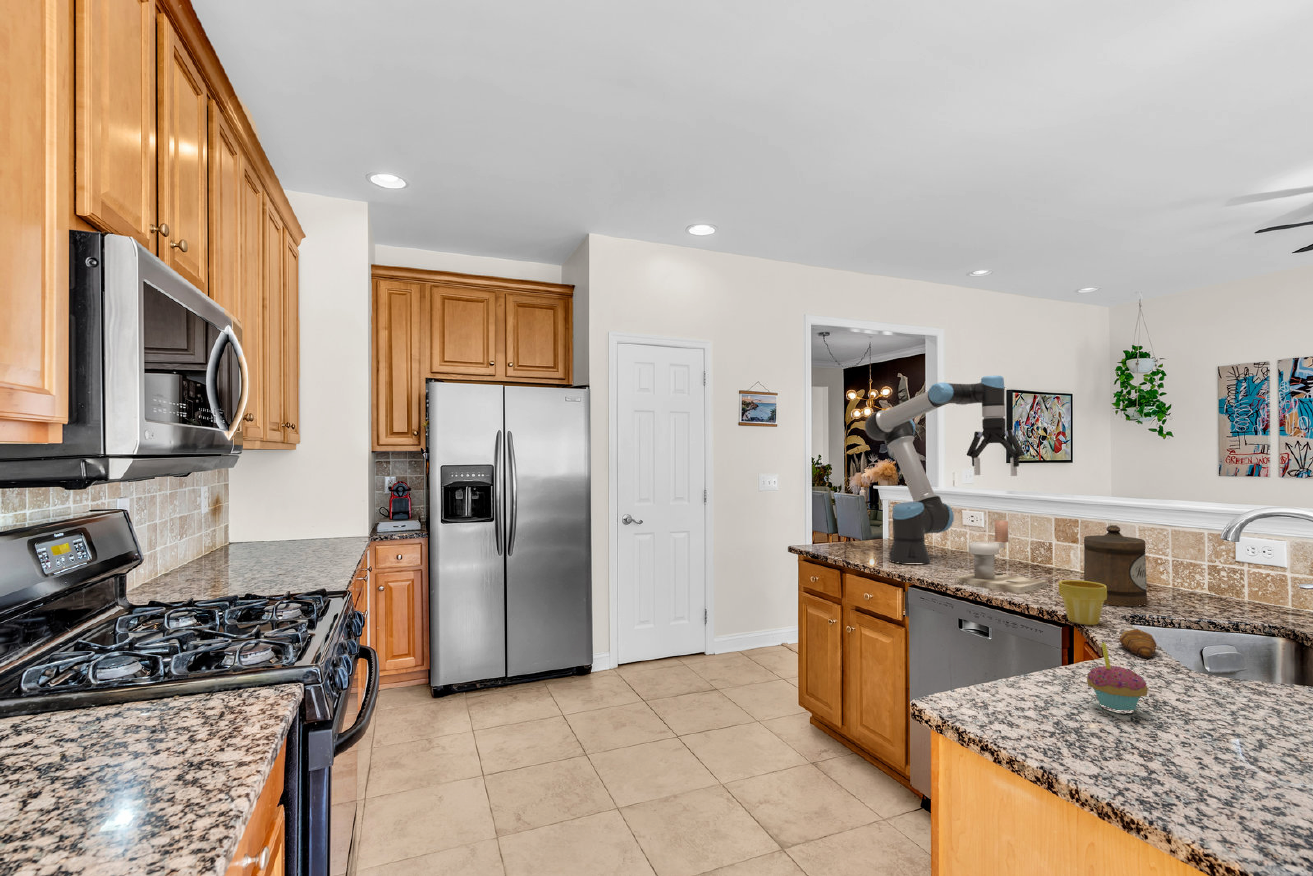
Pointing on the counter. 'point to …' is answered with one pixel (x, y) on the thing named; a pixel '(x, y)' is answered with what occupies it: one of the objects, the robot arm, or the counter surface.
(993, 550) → the crank handle
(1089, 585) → the plant pot
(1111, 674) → the cupcake
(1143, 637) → the croissant
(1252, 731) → the counter surface
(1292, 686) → the counter surface
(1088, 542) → the wooden container
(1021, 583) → the post base
